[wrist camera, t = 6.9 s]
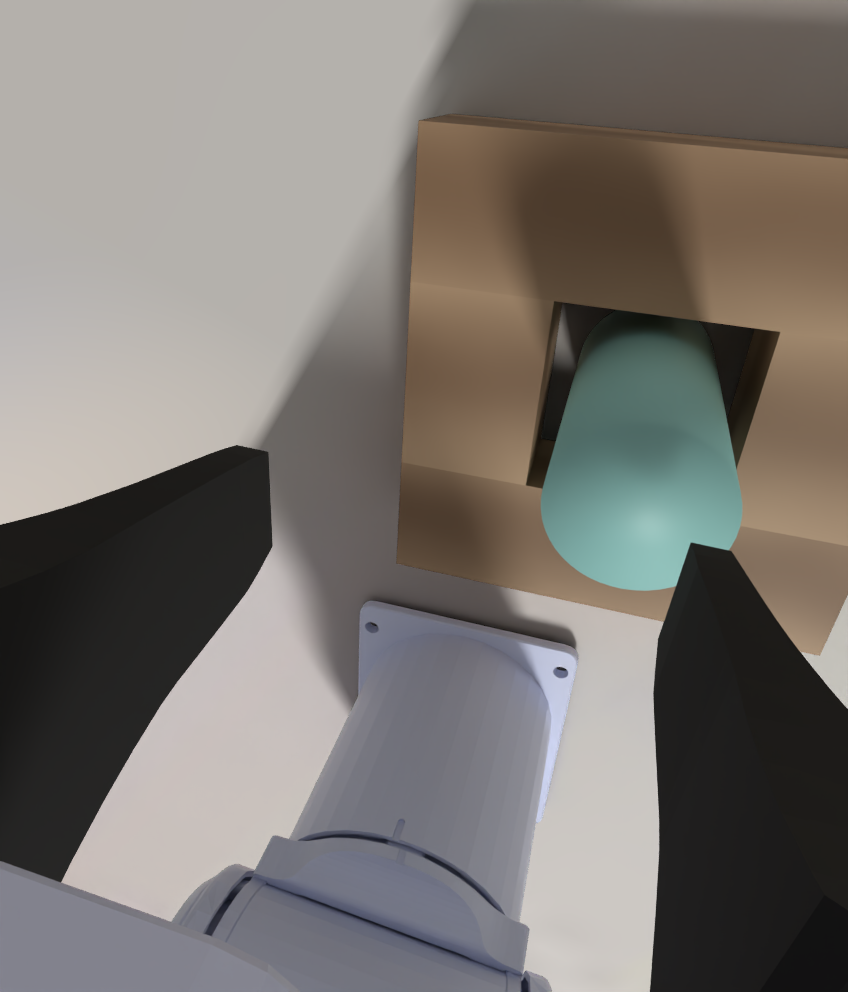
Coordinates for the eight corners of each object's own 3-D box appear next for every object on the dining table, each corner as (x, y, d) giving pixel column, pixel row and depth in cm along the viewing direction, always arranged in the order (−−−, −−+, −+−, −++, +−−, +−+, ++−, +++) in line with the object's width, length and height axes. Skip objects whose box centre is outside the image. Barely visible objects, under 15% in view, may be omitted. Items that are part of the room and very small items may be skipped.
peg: (689, 439, 21) (702, 612, 14) (565, 410, 22) (522, 561, 15) (734, 318, 19) (774, 451, 12) (597, 289, 20) (565, 401, 13)
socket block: (802, 589, 22) (819, 655, 20) (423, 513, 25) (396, 563, 22) (980, 159, 16) (1039, 176, 14) (451, 113, 18) (418, 120, 16)
